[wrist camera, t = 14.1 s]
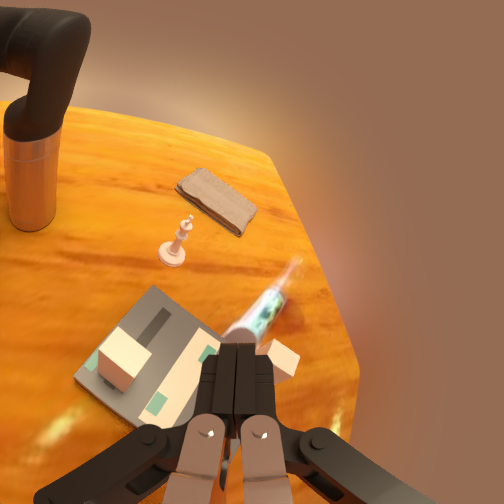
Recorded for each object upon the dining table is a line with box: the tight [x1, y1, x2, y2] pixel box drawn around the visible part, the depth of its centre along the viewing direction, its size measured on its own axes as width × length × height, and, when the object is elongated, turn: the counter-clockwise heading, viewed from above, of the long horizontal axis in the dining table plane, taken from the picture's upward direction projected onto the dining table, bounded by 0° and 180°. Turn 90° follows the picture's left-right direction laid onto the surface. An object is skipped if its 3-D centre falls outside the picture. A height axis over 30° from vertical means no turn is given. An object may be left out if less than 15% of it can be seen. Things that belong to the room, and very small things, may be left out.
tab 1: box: [98, 327, 152, 393], centre depth 25 cm, size 3×4×10 cm
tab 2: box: [255, 339, 300, 385], centre depth 33 cm, size 3×4×10 cm
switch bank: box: [74, 285, 240, 463], centre depth 33 cm, size 18×22×3 cm
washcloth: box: [175, 168, 257, 236], centre depth 62 cm, size 12×18×3 cm, turn 69°
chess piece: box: [158, 215, 193, 267], centre depth 44 cm, size 5×5×10 cm
